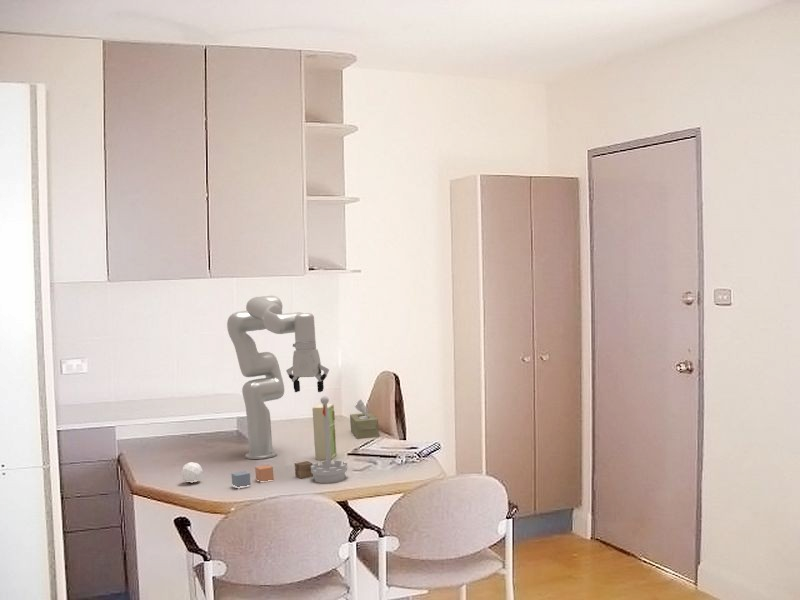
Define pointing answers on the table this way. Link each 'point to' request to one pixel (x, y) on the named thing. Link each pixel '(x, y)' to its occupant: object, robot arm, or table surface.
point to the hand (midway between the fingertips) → (308, 391)
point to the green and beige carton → (320, 432)
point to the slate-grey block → (241, 478)
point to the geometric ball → (191, 472)
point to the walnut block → (303, 470)
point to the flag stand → (328, 457)
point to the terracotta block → (264, 473)
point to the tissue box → (364, 423)
